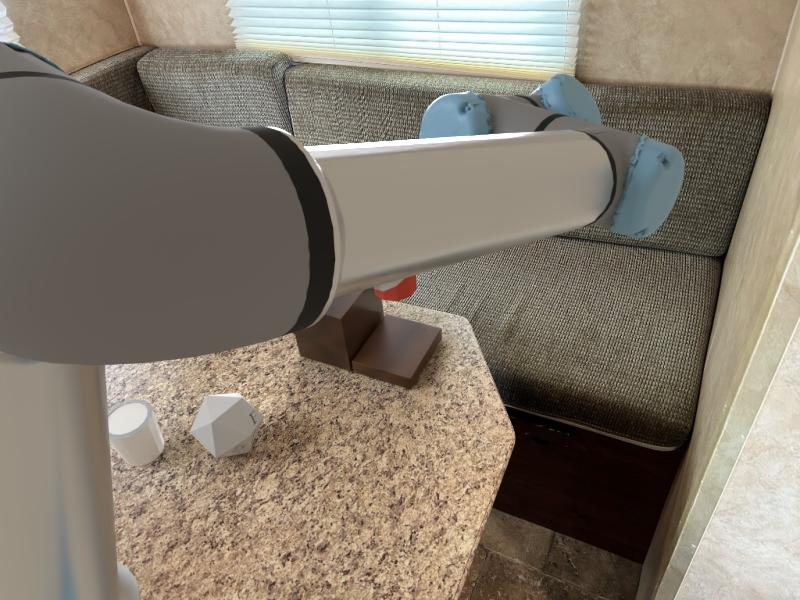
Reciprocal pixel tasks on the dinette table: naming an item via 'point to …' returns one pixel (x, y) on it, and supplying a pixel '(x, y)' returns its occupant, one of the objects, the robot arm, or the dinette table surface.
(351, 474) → the dinette table surface
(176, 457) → the dinette table surface
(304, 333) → the wooden l-shaped step
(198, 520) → the dinette table surface
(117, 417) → the shot glass
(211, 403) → the die
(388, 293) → the beverage can
